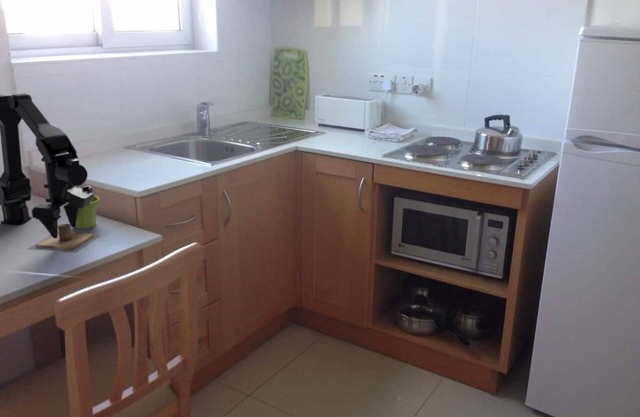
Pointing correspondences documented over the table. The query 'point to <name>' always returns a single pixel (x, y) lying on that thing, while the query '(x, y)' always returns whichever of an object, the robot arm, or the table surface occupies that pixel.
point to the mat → (64, 249)
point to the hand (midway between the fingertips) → (64, 232)
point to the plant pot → (88, 214)
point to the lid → (65, 239)
